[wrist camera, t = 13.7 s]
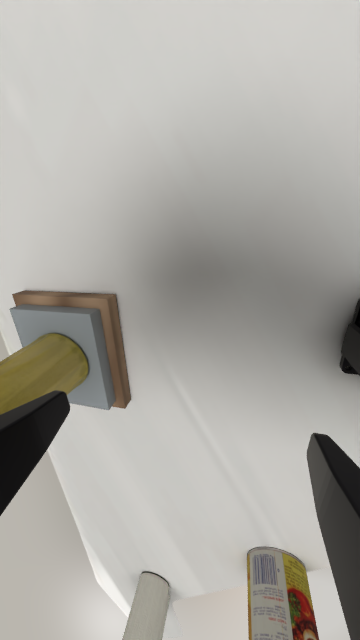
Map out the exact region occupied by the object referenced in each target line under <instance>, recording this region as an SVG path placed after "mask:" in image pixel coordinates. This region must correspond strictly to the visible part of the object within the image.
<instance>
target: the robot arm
mask: <svg viewBox="0 0 360 640" xmlns="http://www.w3.org/2000/svg"><path fill="white" fill-rule="evenodd" d="M341 353H342V354H343V356H342V359H341V363H340V368H341V370H342V371H343V372H344V373H348V374H358V375H360V300H359V301H358V304H357V307H356V311H355V314H354V318H353V321H352V323H350V324H349V325H348V329H347V332H346V336H345V339H344V343H343V346H342V350H341ZM346 366H350V367H349V368H345V367H346ZM69 411H70V405H69V401H68V397H67V394H66V393H65V392H64V391H59V390H54V391H52V392H50V393H47V394H45V395H43V396H41V397H39V398H36V399H34V400H32V401H30V402H27V403H25V404H23V405H21V406H19V407H16V408H14V409H12V410H10V411H8V412H5V413H3V414H1V415H0V516H1V514H2V513H3V512H4V510H5V509H6V507H7V506H8V504H9V503H10V502H11V500H12V499H13V497H14V496H15V495H16V493H17V492H18V490H19V489H20V487H21V486H22V485H23V483H24V482H25V480H26V479H27V478H28V476H29V475H30V473H31V472H32V470H33V469H34V468H35V466H36V465H37V463H38V462H39V461H40V459H41V458H42V456H43V455H44V453H45V452H46V450H47V449H48V447H49V446H50V444H51V442H52V441H53V439H54V437H55V436H56V434H57V432H58V431H59V429H60V427H61V425H62V424H63V422H64V420H65V419H66V417H67V415H68V414H69ZM307 461H308V467H309V473H310V478H311V484H312V490H313V496H314V502H315V507H316V512H317V517H318V521H319V525H320V529H321V533H322V537H323V540H324V544H325V547H326V551H327V555H328V558H329V562H330V566H331V569H332V573H333V577H334V580H335V584H336V587H337V591H338V595H339V599H340V602H341V606H342V609H343V613H344V617H345V620H346V624H347V628H348V631H349V635H350V638H351V640H360V468H359V467H358V466H357V465H356V464H355V463H354V462H353V461H352V460H351V459H350V458H349V457H348V456H347V454H346V453H345V452H344V451H343V450H342V449H341V448H340V447H339V446H338V445H337V444H336V443H335V442H334V441H333V440H332V439H331V438H330V437H329V436H328V435H324V434H318V433H313V434H312V435H311V438H310V442H309V446H308V449H307Z"/></svg>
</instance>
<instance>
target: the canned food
mask: <svg viewBox="0 0 360 640" xmlns="http://www.w3.org/2000/svg"><path fill="white" fill-rule="evenodd" d="M247 577H248V621H249V622H248V625H249V640H319V637H318V632H317V627H316V621H315V616H314V611H313V606H312V600H311V595H310V590H309V584H308V580H307V574H306V569H305V566H304V565H303V563H302V562H301V561H300V560H299V559H298V558H297V557H295V556H293V555H292V554H290V553H288V552H285V551H283V550H280V549H276V548H270V547H258V548H254V549H252V550H250V551H249V553H248V554H247Z"/></svg>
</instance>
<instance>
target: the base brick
mask: <svg viewBox="0 0 360 640" xmlns="http://www.w3.org/2000/svg"><path fill="white" fill-rule="evenodd" d="M12 295H13V298H14V301H15V304H16V306H19V305H22V304H29V305H46V306H62V307H79V308H95V309H100V314H101V320H102V326H103V331H104V337H105V342H106V348H107V353H108V359H109V365H110V370H111V376H112V381H113V387H114V392H115V398H116V401H115V402H114V404H113V405H112V406H113V407H119V408H124V409H125V408H126V406H127V405H128V403H129V402H130V400H131V397H130V390H129V383H128V376H127V369H126V363H125V356H124V349H123V342H122V335H121V328H120V322H119V315H118V308H117V301H116V295H114V294H91V293H68V292H45V291H22V292H19V293H15V294H12Z"/></svg>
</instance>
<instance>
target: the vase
mask: <svg viewBox="0 0 360 640" xmlns="http://www.w3.org/2000/svg"><path fill="white" fill-rule="evenodd" d="M87 375H88V363H87V359H86V357H85V355H84V353H83V352H82V350H81V349H80V348H79V346H78V345H77V344H76V343H74V342H73V341H72V340H70V339H69V338H67V337H65V336H63V335H60V334H55V333H50V334H45V335H42V336H40V337H39V338H38V339H36V340H35V341H33V342H32V343H30V344H29V345H27V346H25V347H24V348H22V349H20V350H19V351H17V352H15V353H14V354H12V355H11V356H9V357H7V358H6V359H4V360H3V361H1V362H0V415H1V414H3V413H5V412H8V411H10V410H12V409H14V408H16V407H19V406H21V405H23V404H25V403H27V402H30V401H32V400H34V399H36V398H39V397H41V396H43V395H45V394H47V393H50V392H52V391H54V390H59V391H64V392H65V393H66V394H67V395H68V394H69V393H70V392H71V391H72V390H74V389H75V388H76V387H77V386H79V385H80V384H82V383H83V382H84V380H85V379H86V377H87Z"/></svg>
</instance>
